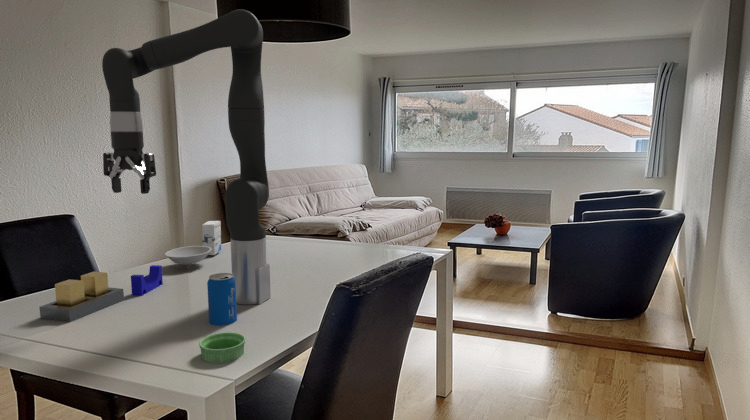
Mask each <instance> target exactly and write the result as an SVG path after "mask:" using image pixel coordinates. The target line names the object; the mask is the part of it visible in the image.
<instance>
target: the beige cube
mask: <svg viewBox="0 0 750 420" xmlns="http://www.w3.org/2000/svg"><path fill="white" fill-rule="evenodd" d="M80 280H81V281H84V293H85V296H88V297H98V296H101V295H103V294H106V293H109V289H108V287H109V279H108V272H103V271H91V272H88V273H84V274H82V275H80Z"/></svg>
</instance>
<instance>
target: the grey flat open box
mask: <svg viewBox="0 0 750 420" xmlns="http://www.w3.org/2000/svg"><path fill="white" fill-rule="evenodd" d="M108 289H109V293H106V294H103V295H101V296H98V297H88V296H85V302H83V303H80V304H78V305H75V306H73V307H65V306H57V303H56V300H54V301H51V302H49V303H46V304H43V305H41V306H40V305H39V315H40V316H39V317H40V318H39V319H40V320H44V319H46V320H47V321H53V320H54V322H65V323H71V322H74V321H77V320H79V319H82V318H84V317H87V316H90V315H92V314H94V313H98V312H99V311H101V310H105V309H106V308H109V307H112V306H114V305H117V304H119V303H122V302H123V301H125V295H124V294H125V293H124V292H125V291H124V288H118V287H109V286H108ZM46 320H45V321H46Z"/></svg>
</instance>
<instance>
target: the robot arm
mask: <svg viewBox="0 0 750 420" xmlns="http://www.w3.org/2000/svg"><path fill="white" fill-rule="evenodd" d="M263 42H264V30H263V27H262V24H261V23H260V21H259V19H258V18H257V17H256V16H255V14H253V13H252V12H251V11H249V10H246V9H238V8H237V9H235V10H232V11H230V12H228V13H226V14H224V15H222V16H219V17H217V18H216V19H213V20H210V21H209V22H206V23H205V24H201V25H199V26H196V27H194V28H191V29H187V30H184V31H181V32H177V33H174V34H170V35H166V36H162V37H159V38H154V39H152V40H148V41H146V42H144V43H142V45H141V46H140V47H137V48H134V49H130V50H125V49H122V48H120V47H111V48H109V49H108V50H106V51H105V53H104V54H103V57H102V62H101V65H102V66H101V68H102V73H103V77H104V81H105V85H106V89H107V92H108V96H109V98H108V99H109V111H110V113H109V115H110V116H109V128H110V141H111V142H110V143H111V148H112V149H113V152H103V154H102V159H103V161H102V162H103V163H102V166H103V175H104V176H105V177H109V178H110V180H111V181H110V182H111V189H112V193H115V194H119V193H122V178H120V177H121V175H122V173H123V172H125V171H126V170H129V171H134V173H136V174H137V175H138V177H139V178H140V179H139V183H140V184H139V185H140V193H141V194H142V195H145V194H149V192H150V189H151V185H150V183H151V182H150V179H151V178H153V177H156V176H157V170H156V167H157V166H156V161H155V159H156V158H155V153H153V152H149V153H148V152H147V153H146V152H145V153H144V151H143V149H144V132H143V131H144V128H143V127H144V126H143V118H142V114H141V99H140V94H139V93H140V92H138V90H137V89H135V86H134V79H137V78H140V77H142V76H146V75H147V74H149V73H152V72H154V71H156V70H161V69H165V68H169V67H172V66H175V65H179V64H181V63H184V62H186V61H189V60H191V59H193V58H195V57H198V56H200V55H202V54H204V53H207V52H210V51H214V50H217V49H223V48H230V51H231V52H230V53H231V61H232V62H231V63H232V74H231V80H230V81H231V82H230V86H229V90H228V91H229V92H228V99H227V115H228V116H227V117H228V118H227V119H228V120H227V121H228V128H229V129H228V130H229V133H230V137H231V139H232V141H233V143H234V146H235V148H236V151H237V154H238V157H239V165H240V166H239V168H240V170H239V171H240V173H239V178H238V179H234V180H233V181H231V182H229V184H228V185H227V186H226V188H225V189H226V190H225V192H224V193H225V194H224V207H225V218H226V219H225V220H226V226H227V229H228V232H229V233H230V237H229V238H230V256H231V257H230V260H231V262H230V263H231V274H233V277H234V278H235V281H236V305H237V304H238V305H261V304H262V303H264V302H265V301H267V300H269V299H271V296H272V295H271V266H270V264H269V263H267V261H268V260H267V236H266V235H267V233H266V232H267V231H266V227H265V226H264V225H263V224H261V222H260V217H259V210H262V209H263V208H264V207H265V206H266V205H267V203H268V201H269V198H270V188H269V187H270V186H269V181H268V171H267V163H266V142H265V141H266V137H265V135H266V133H265V102H264V101H265V99H264V89H263V87H264V86H263V80H262V51H263Z"/></svg>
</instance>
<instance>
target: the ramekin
mask: <svg viewBox="0 0 750 420" xmlns="http://www.w3.org/2000/svg"><path fill="white" fill-rule="evenodd" d="M245 343H246V336H245V335H243V334H241V333H238V332H231V331H227V332H218V333H213V334H209V335H207V336H205V337H203V338H201V340H200V341H199V343H198V344H199V345H198V346H199V349H200V353H201V354H200V355H201V359H202V360H203V361H205V362H207V363H212V364H213V363H214V364H215V363H216V364H218V363H219V364H221V363H229V362H232V361H234V360H237V359H239V358H241V357H242V356H244V355H245V354H244V353H245Z"/></svg>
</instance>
